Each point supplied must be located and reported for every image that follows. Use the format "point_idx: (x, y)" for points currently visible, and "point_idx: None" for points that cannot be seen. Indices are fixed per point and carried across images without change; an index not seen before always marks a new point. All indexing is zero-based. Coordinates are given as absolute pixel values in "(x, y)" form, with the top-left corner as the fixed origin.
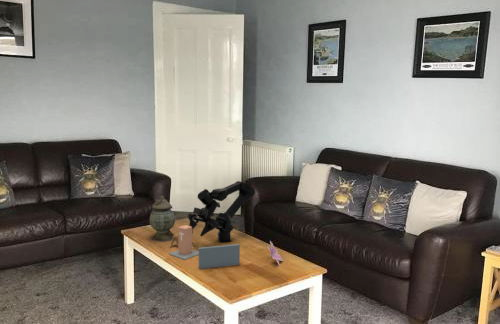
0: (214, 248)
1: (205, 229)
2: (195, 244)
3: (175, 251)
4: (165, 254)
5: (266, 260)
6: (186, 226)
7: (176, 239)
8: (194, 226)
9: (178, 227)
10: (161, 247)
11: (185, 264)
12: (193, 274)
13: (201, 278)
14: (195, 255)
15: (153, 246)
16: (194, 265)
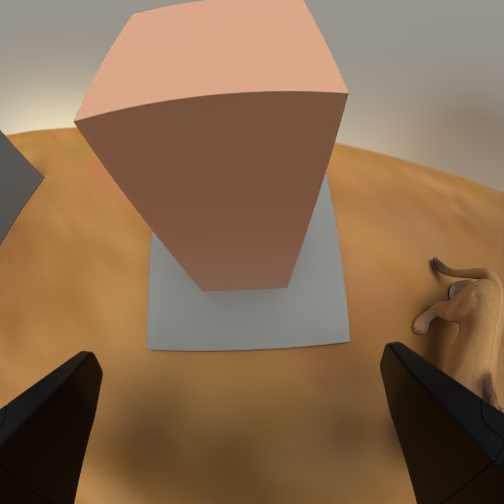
0: None
1: (1, 425)
2: (367, 458)
3: (327, 217)
4: (338, 160)
5: None
6: (213, 53)
7: (459, 292)
8: (425, 501)
9: (295, 2)
10: (461, 223)
11: None
12: (39, 131)
13: (9, 139)
14: (150, 277)
15: (488, 204)
16: (71, 178)
